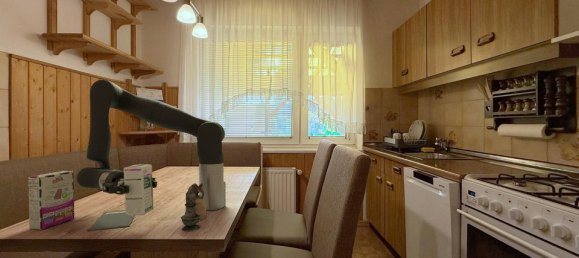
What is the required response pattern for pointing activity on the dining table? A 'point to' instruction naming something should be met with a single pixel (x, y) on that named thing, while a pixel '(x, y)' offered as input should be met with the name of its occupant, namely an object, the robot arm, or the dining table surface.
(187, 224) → the dark grey chess piece
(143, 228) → the dining table surface
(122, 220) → the mat
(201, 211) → the figurine
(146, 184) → the syrup box
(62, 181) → the candy bar box
